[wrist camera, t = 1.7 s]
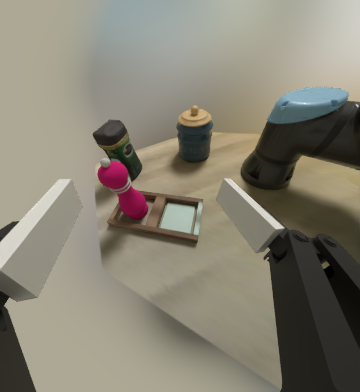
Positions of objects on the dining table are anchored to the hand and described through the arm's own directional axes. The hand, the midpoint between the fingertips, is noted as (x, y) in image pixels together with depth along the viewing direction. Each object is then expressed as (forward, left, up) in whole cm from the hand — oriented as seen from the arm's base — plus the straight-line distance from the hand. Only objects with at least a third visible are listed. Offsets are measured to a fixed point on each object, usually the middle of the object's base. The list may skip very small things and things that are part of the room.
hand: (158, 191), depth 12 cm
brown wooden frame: (-10, -9, -25) cm, 29 cm away
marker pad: (-10, -3, -25) cm, 27 cm away
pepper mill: (-10, -16, -26) cm, 32 cm away
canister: (-41, -3, -26) cm, 48 cm away
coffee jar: (-26, -26, -26) cm, 45 cm away
